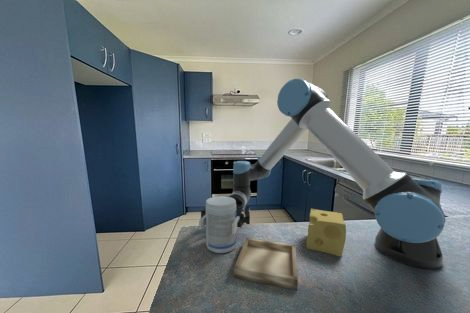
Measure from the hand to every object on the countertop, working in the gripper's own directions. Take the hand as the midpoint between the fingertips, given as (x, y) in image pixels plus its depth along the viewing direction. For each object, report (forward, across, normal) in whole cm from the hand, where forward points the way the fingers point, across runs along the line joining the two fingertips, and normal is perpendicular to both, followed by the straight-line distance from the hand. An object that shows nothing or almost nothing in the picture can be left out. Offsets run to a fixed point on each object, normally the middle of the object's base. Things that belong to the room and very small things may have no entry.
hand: (216, 227), depth 56 cm
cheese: (-14, -32, -8) cm, 36 cm away
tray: (+1, -15, -8) cm, 17 cm away
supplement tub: (-4, 0, -8) cm, 9 cm away
